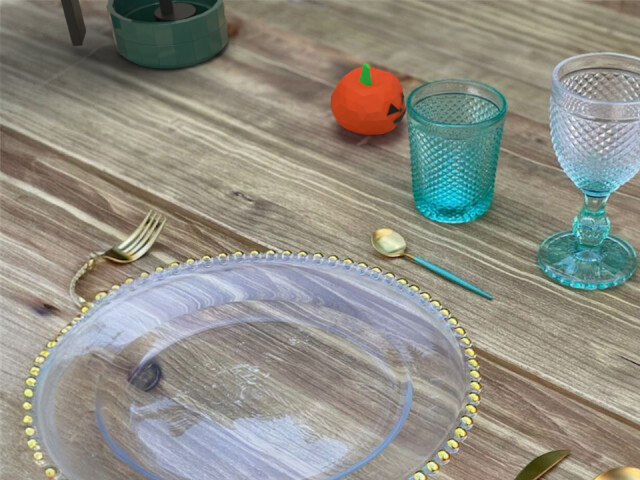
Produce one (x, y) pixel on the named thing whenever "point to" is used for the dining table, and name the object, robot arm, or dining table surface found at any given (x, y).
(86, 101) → the dining table surface
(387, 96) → the pumpkin
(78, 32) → the dark grey desk lamp
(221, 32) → the bowl
